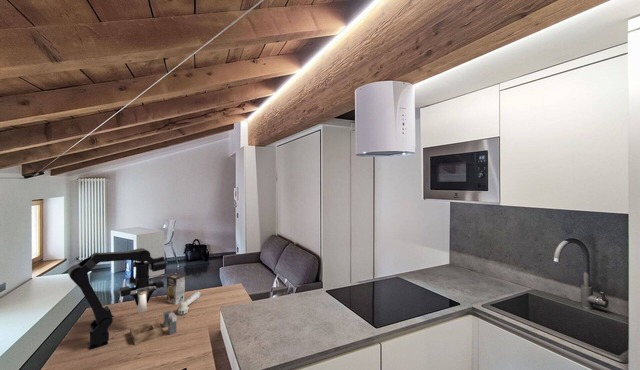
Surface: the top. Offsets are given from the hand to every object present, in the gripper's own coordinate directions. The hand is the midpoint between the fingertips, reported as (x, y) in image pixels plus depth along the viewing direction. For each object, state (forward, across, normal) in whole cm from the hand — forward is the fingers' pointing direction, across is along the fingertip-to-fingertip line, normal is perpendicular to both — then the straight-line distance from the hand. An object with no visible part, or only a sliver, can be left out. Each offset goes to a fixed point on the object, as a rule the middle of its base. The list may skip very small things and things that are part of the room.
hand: (142, 304), depth 141 cm
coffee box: (+13, -23, -23) cm, 35 cm away
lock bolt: (+6, -10, +15) cm, 19 cm away
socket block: (+13, 0, +7) cm, 15 cm away
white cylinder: (+4, 0, 0) cm, 4 cm away
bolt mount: (+13, -10, +10) cm, 19 cm away
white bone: (+13, -28, -11) cm, 33 cm away
